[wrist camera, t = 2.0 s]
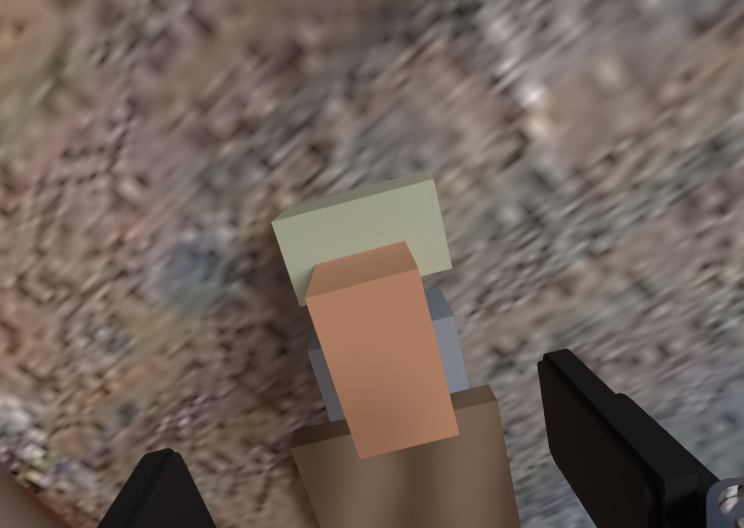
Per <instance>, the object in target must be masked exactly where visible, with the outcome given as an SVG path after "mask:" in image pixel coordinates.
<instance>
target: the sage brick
mask: <svg viewBox="0 0 744 528" xmlns="http://www.w3.org/2000/svg"><path fill="white" fill-rule="evenodd" d="M271 223H272V226H273V229H274V232H275V235H276V237H277V240H278V243H279V246H280V249H281V252H282V255H283V258H284V261H285V264H286V267H287V270H288V273H289V276H290V279H291V282H292V285H293V288H294V291H295V294H296V297H297V300H298V303H299V306H300V307H302V306H306V305H307V304H306V301H305V297H306V293H307V290H308V287H309V284H310V281H311V278H312V275H313V272H314V269H315V266H316V264H320V263H323V262H327V261H331V260H335V259H338V258H342V257H346V256H349V255H353V254H357V253H361V252H364V251H368V250H372V249H375V248H379V247H383V246H386V245H390V244H394V243H398V242H401V241H406V244H407V246H408V248H409V250H410V252H411V254H412V256H413V258H414V260H415V262H416V264H417V266H418V268H419V272H420V276H424V275H428V274H432V273H436V272H440V271H444V270H448V269H452V264H451V260H450V255H449V250H448V245H447V241H446V236H445V231H444V226H443V222H442V217H441V212H440V207H439V203H438V198H437V193H436V188H435V184H434V179H432V178H431V177H429V176H427V175H425V174H423V173H421V172H419V173H415V174H411V175H407V176H404V177H400V178H396V179H392V180H389V181H385V182H381V183H377V184H374V185H370V186H366V187H362V188H358V189H355V190H351V191H347V192H343V193H340V194H336V195H332V196H328V197H325V198H321V199H317V200H313V201H310V202H306V203H302V204H298V205H295V206H291V207H287V208H286V209H285V210H283V211H282V212H281V213H280V214H279V215H278V216H277V217H276V218H275V219H274V220H273V221H272V222H271Z"/></svg>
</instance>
